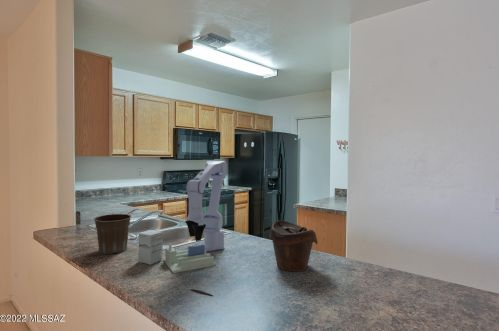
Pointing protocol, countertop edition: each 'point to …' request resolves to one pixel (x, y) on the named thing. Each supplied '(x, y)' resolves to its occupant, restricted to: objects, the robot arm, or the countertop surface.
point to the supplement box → (150, 246)
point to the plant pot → (112, 232)
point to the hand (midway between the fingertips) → (195, 238)
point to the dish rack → (186, 260)
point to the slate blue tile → (196, 250)
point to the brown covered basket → (292, 245)
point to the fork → (193, 290)
